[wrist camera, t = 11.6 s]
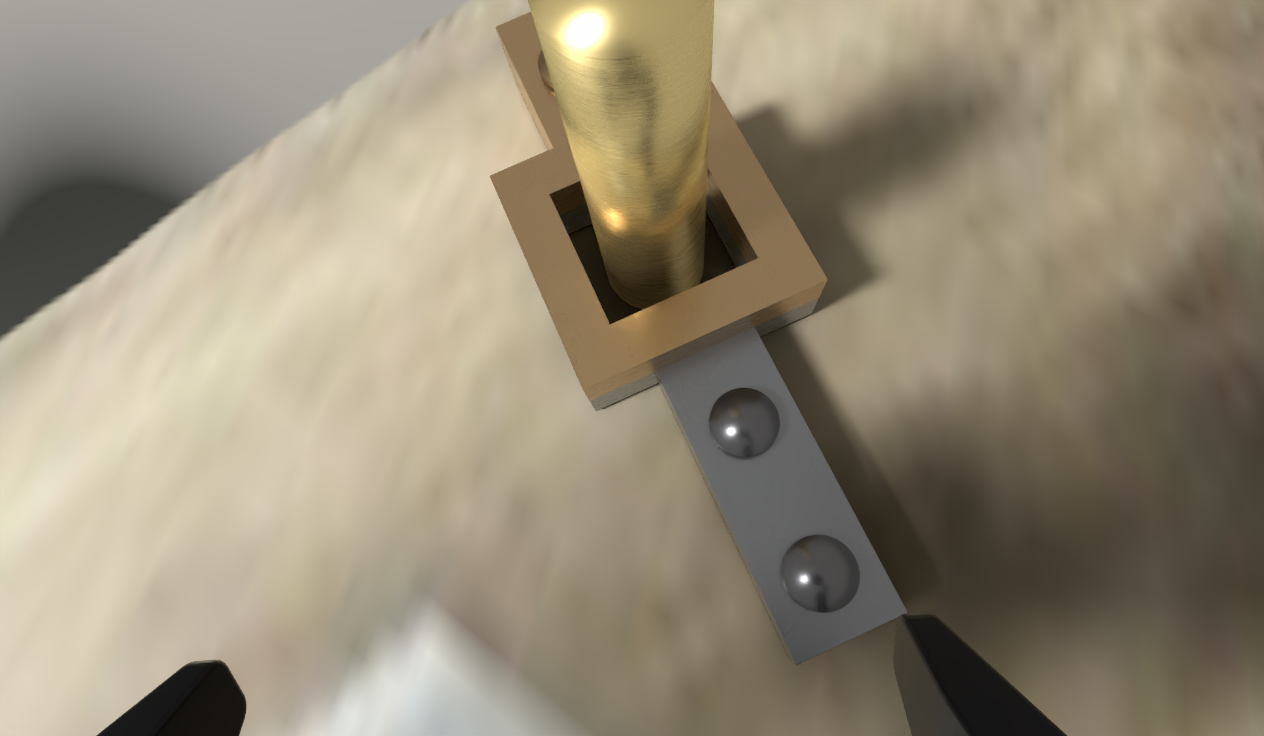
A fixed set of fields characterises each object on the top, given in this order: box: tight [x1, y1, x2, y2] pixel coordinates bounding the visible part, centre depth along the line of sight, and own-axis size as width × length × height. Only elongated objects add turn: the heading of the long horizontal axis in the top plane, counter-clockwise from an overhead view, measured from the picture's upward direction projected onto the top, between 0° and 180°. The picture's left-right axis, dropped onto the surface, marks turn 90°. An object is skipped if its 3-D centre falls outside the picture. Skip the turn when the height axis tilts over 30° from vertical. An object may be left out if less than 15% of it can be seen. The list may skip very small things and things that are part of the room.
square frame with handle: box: [490, 12, 907, 665], centre depth 23 cm, size 24×8×3 cm, turn 24°
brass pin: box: [528, 0, 714, 309], centre depth 19 cm, size 4×4×13 cm
